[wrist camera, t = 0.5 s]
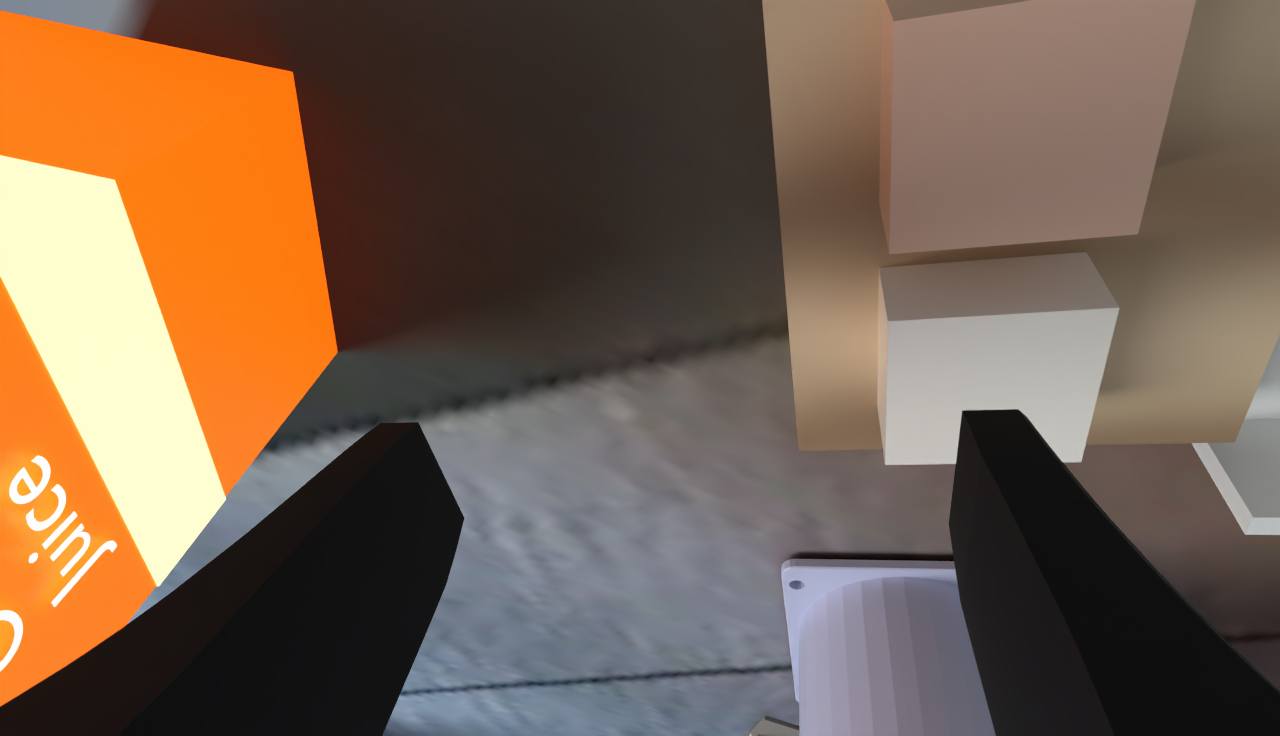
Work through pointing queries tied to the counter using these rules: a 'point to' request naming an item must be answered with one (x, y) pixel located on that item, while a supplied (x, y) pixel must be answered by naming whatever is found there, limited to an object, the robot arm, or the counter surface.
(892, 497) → the counter surface
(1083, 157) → the terracotta tile
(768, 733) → the skyscraper
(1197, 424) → the flat wooden plank
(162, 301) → the orange juice
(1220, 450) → the tray
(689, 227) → the counter surface
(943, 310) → the cream tile
